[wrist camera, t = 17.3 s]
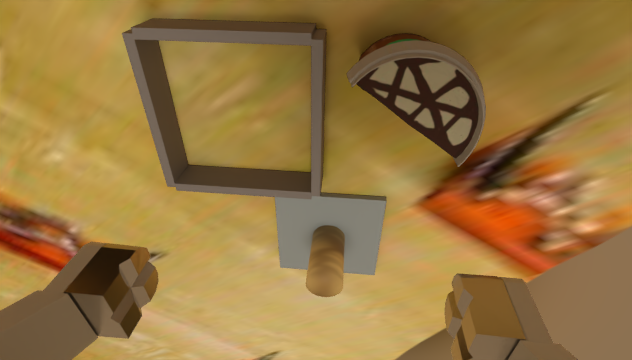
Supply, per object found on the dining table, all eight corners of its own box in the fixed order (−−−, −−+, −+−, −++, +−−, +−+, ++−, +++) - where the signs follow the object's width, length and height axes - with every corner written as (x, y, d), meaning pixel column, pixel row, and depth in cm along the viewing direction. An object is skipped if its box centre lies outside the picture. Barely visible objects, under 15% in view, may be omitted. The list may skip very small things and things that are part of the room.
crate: (326, 23, 33) (323, 33, 29) (322, 179, 43) (320, 199, 40) (142, 18, 34) (120, 27, 31) (182, 171, 44) (168, 189, 41)
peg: (345, 226, 46) (343, 274, 40) (343, 249, 49) (341, 298, 42) (312, 224, 46) (305, 271, 40) (312, 247, 49) (305, 295, 42)
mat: (386, 196, 44) (386, 200, 43) (374, 270, 52) (374, 275, 51) (275, 189, 45) (274, 193, 44) (281, 263, 53) (280, 267, 52)
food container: (487, 72, 34) (529, 116, 26) (439, 118, 37) (463, 170, 29) (392, -12, 30) (405, 8, 22) (348, 46, 34) (345, 82, 26)
